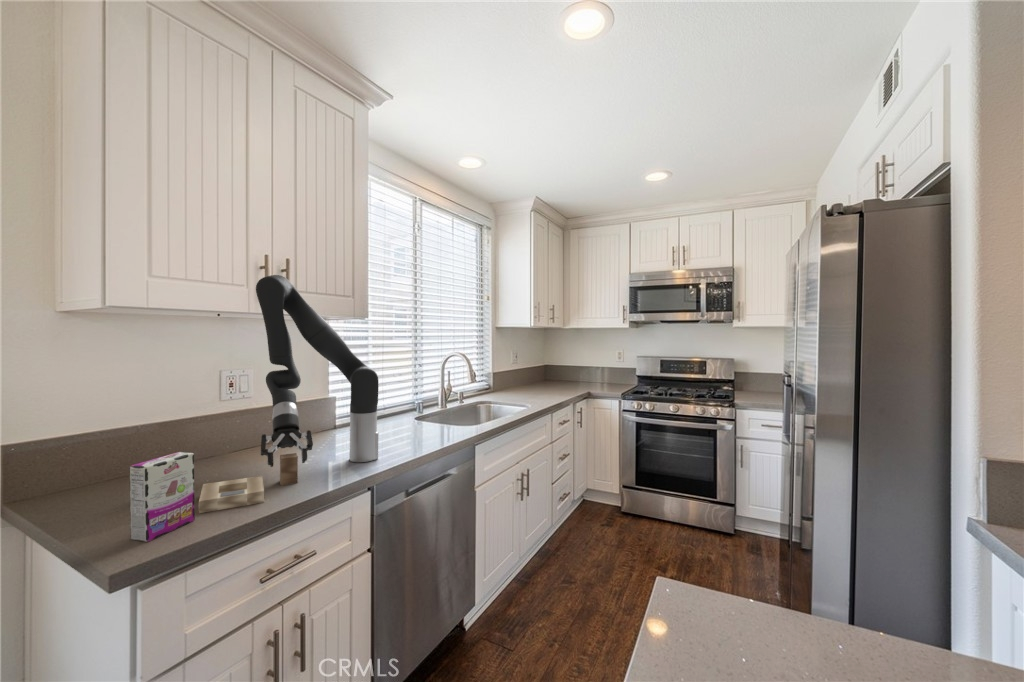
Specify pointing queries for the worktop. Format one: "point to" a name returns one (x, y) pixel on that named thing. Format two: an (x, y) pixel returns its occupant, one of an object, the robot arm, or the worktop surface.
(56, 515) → the worktop surface
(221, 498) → the socket plate
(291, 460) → the walnut post
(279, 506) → the worktop surface
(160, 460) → the candy bar box
